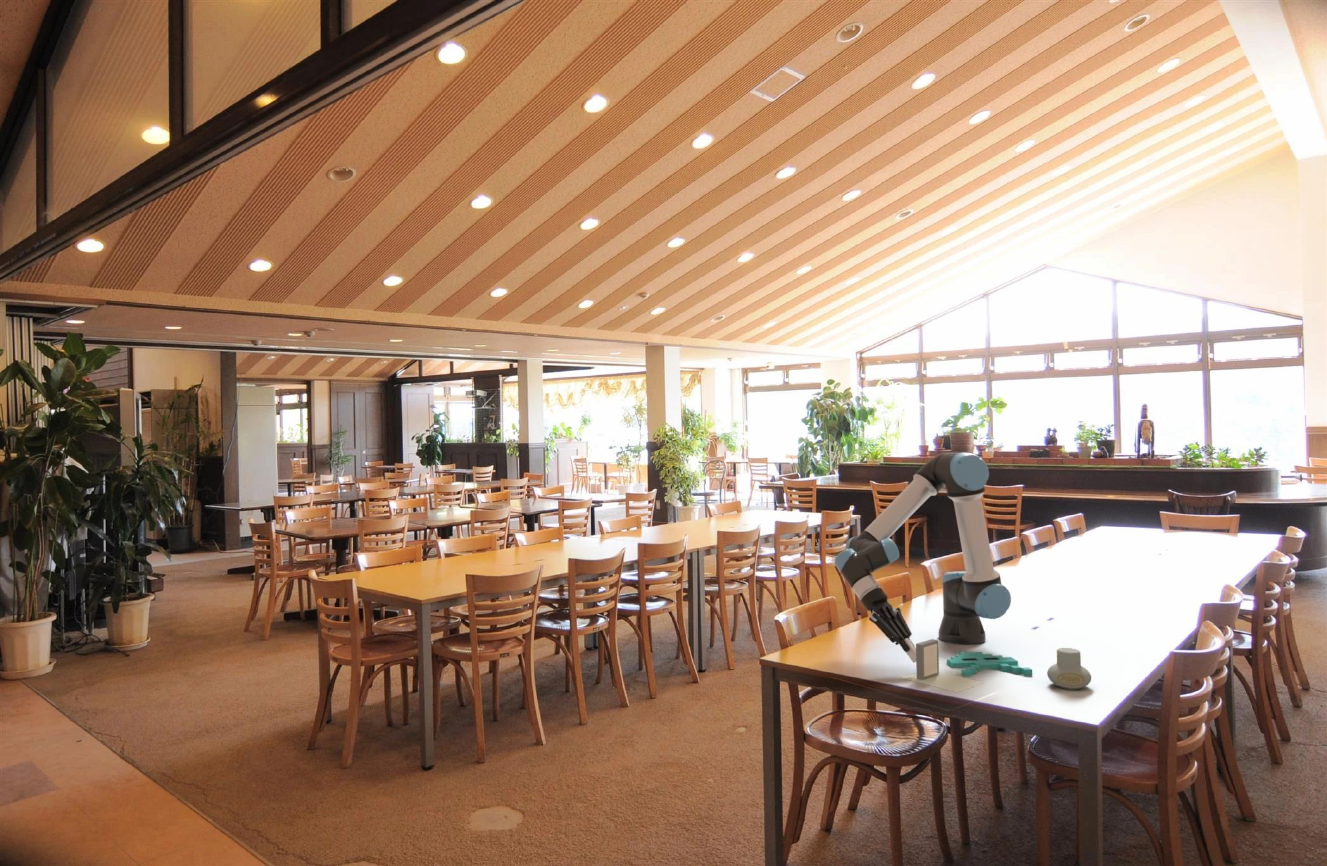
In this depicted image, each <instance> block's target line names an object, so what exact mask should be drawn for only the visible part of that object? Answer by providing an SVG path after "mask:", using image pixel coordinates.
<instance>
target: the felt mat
mask: <svg viewBox="0 0 1327 866" xmlns="http://www.w3.org/2000/svg"><path fill="white" fill-rule="evenodd" d="M900 678H901V679H904V680H909V681H912V682H916V683H920V684H922V685H926V686H931V687H935V688H938V689H942V690H945V691H949V692H954V693H960V692H962V691H965V690H968V689H970V688H973V687H975V686H979V685H980V684H983V682H982V681H979V680H974V679H970V678H966V677H963V676H962V677H961V676H959V675H953V674H949V673H945V672H942V671H939V675H936V676H933V677H931V678H928V679H925V680H920V679H917V672H914V673H911V674H909V675H905V676H902V677H900Z"/></svg>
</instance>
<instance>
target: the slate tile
mask: <svg viewBox="0 0 1327 866" xmlns="http://www.w3.org/2000/svg"><path fill="white" fill-rule="evenodd" d="M915 648H916V662H915V664H916V667H915V671H916V672H915V673H917V679H920V680H925V679H928V678H931V677H933V676H936V675H939V672H940V667H939V666H940V665H939V663H940V662H939V661H940V659H939V658H940V656H939V640H938V639H935V638H931V639H928V640H924V641H921V642H918V643H915Z"/></svg>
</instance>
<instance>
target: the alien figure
mask: <svg viewBox="0 0 1327 866" xmlns="http://www.w3.org/2000/svg"><path fill="white" fill-rule="evenodd" d="M954 655H955V656H950V658H946V664H947V665H948V666H949V667H951V668H952V669H954V668H960V669H961V668H963V669H961V671H960V674H961V676H962V677H973V675H975V674H977V672H981V670H992V671H1000V672H1002V673H1011V674H1013V675H1022V676H1024V677H1032V676H1033V669H1031V667H1029V666H1028V667H1021V666H1019V661H1018V660H1017V659H1015V658H1013V657H1012V656H1005V657H1004V656H1003V655H998V654H997V655H995V654H994V655H993V654H992V653H983V652H981V651H968V652H965V651H964V652H959V654H954Z"/></svg>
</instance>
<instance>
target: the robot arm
mask: <svg viewBox="0 0 1327 866" xmlns="http://www.w3.org/2000/svg"><path fill="white" fill-rule="evenodd" d="M912 477H913V480H912V481H910V483H909V484H908V485H907V486H906V487H905V488H904V489H903V490H902V491H901V492H900V493H899V494H898V495H897V497H895V498H894V500H892V502H891V503H889V505H888V506H886V508H885V509H884V510H882V512H881V513H879V515H878V516H877V517H876V518H875V519H874V520H873V521H872V522H871V523H870V524H869V525H868V526H867V527H866V528H865V529H864V530H863V531H862V532H861V533H860V534H859V535H858V536H853V537H851V538H849V539H848V540H847V541H846V543H845V549H844V550H842V551H841V552H839V553H838V554H837V555H836V557H835V558H834V565H835V566H836V568H837V570H838V571H839V573H840V574H841V575H842V577H843V578H844V580H845V581H846V582H847V583H848V585H849V586H850V589H852V590H853V593H855V595H856V596H857V598H858V599H859V601H860V600H861V601H860V603H861V604H862V605H863V607H864V608H865V610H866V611H868V612H870V613H871V615H870V616H869V617H868V619H869V621H870V622H871V623H873V624H875V626H877V628H878V629H879V630H880V631H881V632H882V634H884V636H885V637H886V638H887V639H888V640H889V641H890V642H891V643H893V644H895V646H898V645H899V646H900V647H901V649H902V650H903V651H904V652H905V653H906V655H907V656H908V658H909V659H910V660H911V662H912V663H913V664H914V663H916V645H914V643H913V642H912V640H911V639H910V638H911V637H912V635H913V634H912V631H911V630H910V628H909V626H908V624H907V622H906V620H905V618H904V616H903V615H902V609H901V608H900V607H897V608H895V607H893V606H892V604H890V603H889V601H888V595H887V594H886V592H885V591H884V590H883V589H882V588H881V586H880V584H879V582H878V581H877V580H876V579H875V577H874V576H873V575H872V573H874V572H876V571H877V570H880V569H882V568H884V567H886V566H887V565H891V564H892V563H893V562H895V561H897V560H898V559H899V557H900V551H899V549H898V546H897V544H896V543H895V542H894V541H893V539H891V538H890V537H892V535H894V534H895V533H896V531H898V529H900V527H901V526H902V525H904V523H906V521H907V520H908V519H909V518H910V517H911V516H912V515H914V513H915V512H916V511H917V510H918V509H919V508H920V507H921V506H922V505H923V504H924V503H925V502H926V501H927V500H928V499H929V498H930V497H931V496H933V497H934V496H936V495H938V493H940V491H942V490H943V489H946V495H947V498H949V499H950V500H952V502H953V505H954V512H955V518H956V525H957V528H958V532H959V533H958V535H959V540H960V546H961V551H962V556H963V557H962V558H963V562H964V563H963V564H964V569H965V571H947V572H945V573H944V574H943V575H942V582H941V583H942V600H943V601H942V603H943V604H942V608H943V615H942V620H941V623H940V626H939V629H938V639H939V640H941V641H943V642H947V643H951V644H959V645H960V644H961V645H975V644H976V645H978V644H981V643H984V642H985V641H986V640H987V639H986V631H985V629H984V626H983V622H982V621H981V618H982V619H989V620H997V619H999V618H1001V617H1003V616H1004V615H1005V614H1006V613H1007V612H1008V610H1009V609H1010V607H1011V604H1012V596H1011V595H1012V594H1011V592H1010V591H1009V589H1008V588H1007V587H1006V586H1005V585H1003V584H1002V580H1001V575H1000V574H1001V573H999V571H996V569H995V568H994V563H993V557H992V552H991V545H990V541H989V535H988V529H987V524H986V523H987V522H986V517H985V512H984V506H983V502H982V497H983V496H984V494H985V493H986V491H985V490H986V489H985V486H986V484H987V482H988V481H989V479H990V478H989V477H990V471H989V467H988V465H987V463H986V461H985V460H984V459H983V458H982V457H981V456H979V455H977V454H974V453H970V452H967V451H966V452H949V451H948V452H941V453H938V454H936V455H935V456H934V457H932V458H930V460H928V461H927V462H925V464H924V465H923V466H921V467H920V469H918V470H917V471H916V472H915V473H914V475H913V476H912Z"/></svg>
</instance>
